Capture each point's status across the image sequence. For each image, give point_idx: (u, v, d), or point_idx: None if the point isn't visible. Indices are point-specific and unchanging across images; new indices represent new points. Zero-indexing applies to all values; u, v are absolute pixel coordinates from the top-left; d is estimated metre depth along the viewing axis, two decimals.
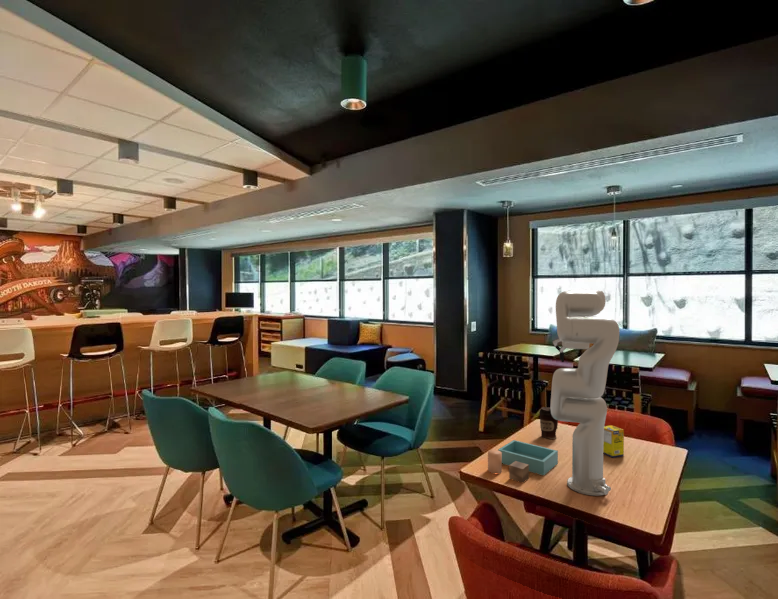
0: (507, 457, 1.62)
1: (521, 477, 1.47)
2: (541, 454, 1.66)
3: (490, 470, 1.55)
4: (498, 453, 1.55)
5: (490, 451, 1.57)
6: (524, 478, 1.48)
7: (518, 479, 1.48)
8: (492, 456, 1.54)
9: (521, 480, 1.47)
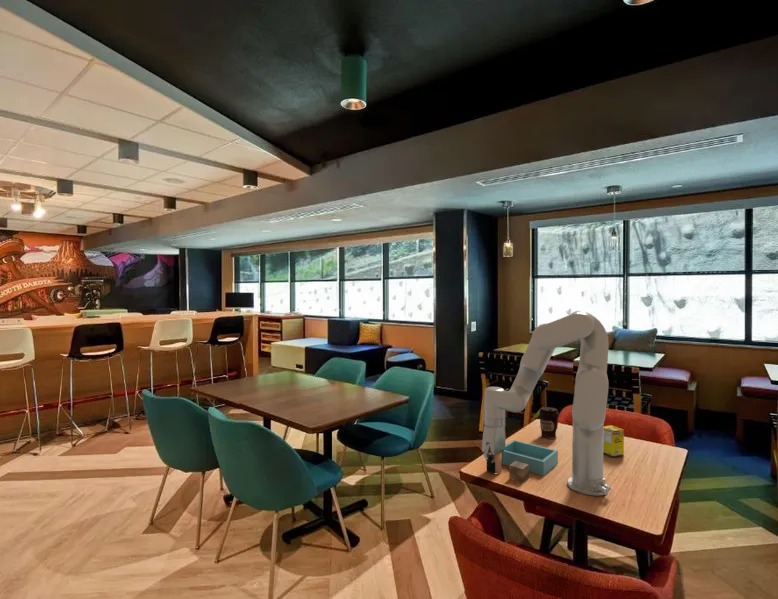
0: (507, 457, 1.62)
1: (521, 477, 1.47)
2: (541, 454, 1.66)
3: None
4: (498, 453, 1.55)
5: (490, 451, 1.57)
6: (524, 478, 1.48)
7: (518, 479, 1.48)
8: None
9: (521, 480, 1.47)
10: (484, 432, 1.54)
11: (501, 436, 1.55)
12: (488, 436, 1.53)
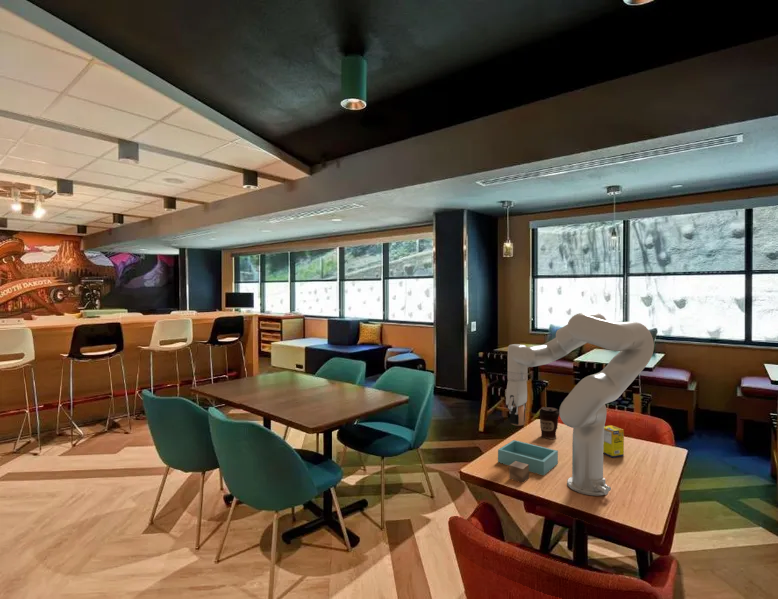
0: (507, 457, 1.62)
1: (521, 477, 1.47)
2: (541, 454, 1.66)
3: None
4: (520, 406, 1.65)
5: (513, 405, 1.67)
6: (524, 478, 1.48)
7: (518, 479, 1.48)
8: (515, 408, 1.64)
9: (521, 480, 1.47)
10: (508, 386, 1.63)
11: (524, 390, 1.64)
12: (512, 389, 1.62)
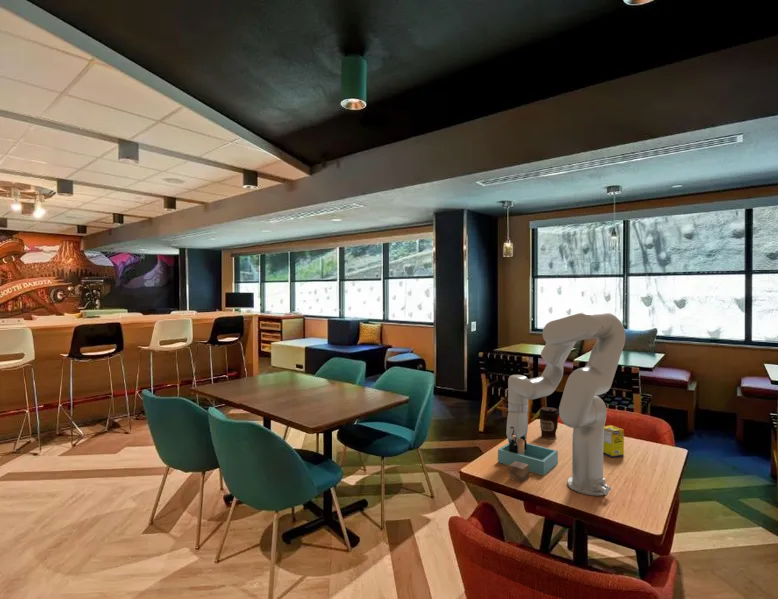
0: (507, 457, 1.62)
1: (521, 477, 1.47)
2: (541, 454, 1.66)
3: None
4: (521, 441, 1.65)
5: (513, 439, 1.67)
6: (524, 478, 1.48)
7: (518, 479, 1.48)
8: None
9: (521, 480, 1.47)
10: (508, 417, 1.64)
11: (524, 421, 1.65)
12: (512, 421, 1.62)
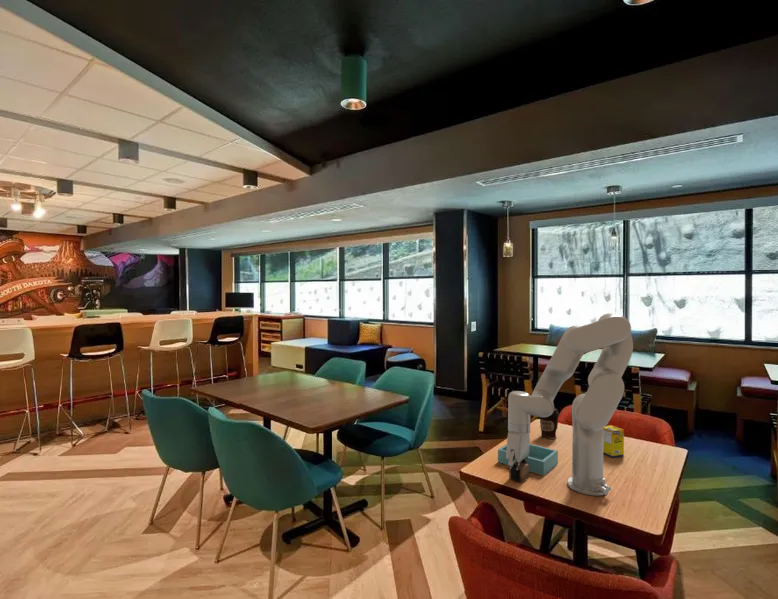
0: None
1: (521, 477, 1.47)
2: (541, 454, 1.66)
3: None
4: None
5: None
6: (524, 478, 1.48)
7: None
8: None
9: (521, 480, 1.47)
10: (508, 438, 1.48)
11: (526, 443, 1.49)
12: (513, 443, 1.46)
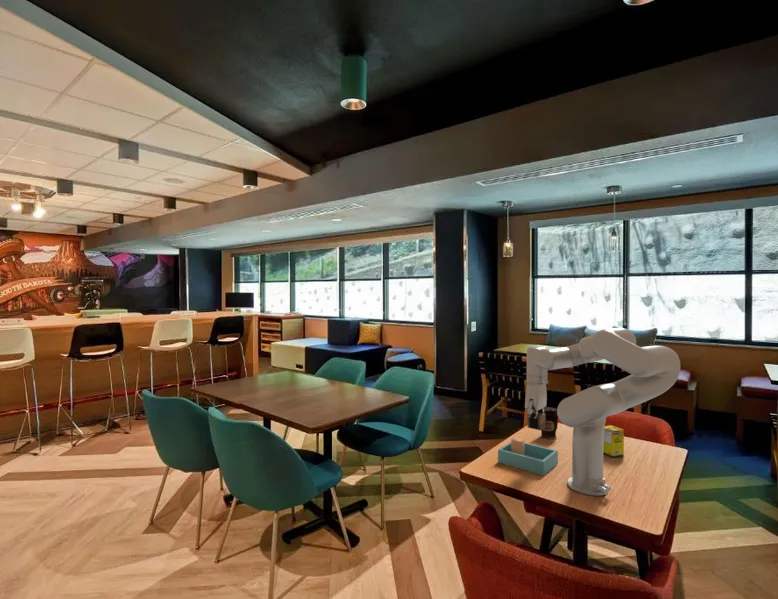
0: (507, 457, 1.62)
1: (539, 425, 1.58)
2: (541, 454, 1.66)
3: None
4: (521, 441, 1.65)
5: (513, 439, 1.67)
6: (541, 426, 1.59)
7: None
8: (515, 443, 1.64)
9: (539, 427, 1.58)
10: (527, 389, 1.58)
11: (543, 393, 1.60)
12: (531, 393, 1.57)
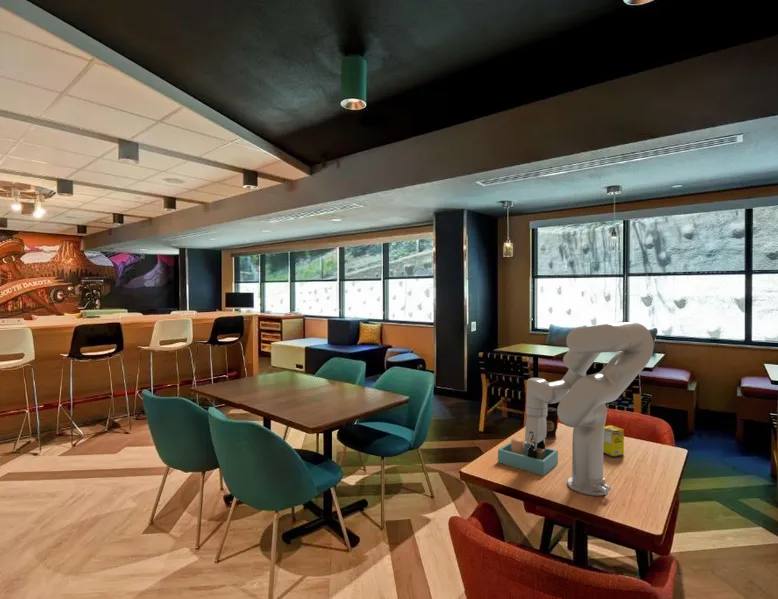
0: (507, 457, 1.62)
1: None
2: None
3: None
4: (521, 441, 1.65)
5: (513, 439, 1.67)
6: None
7: None
8: (515, 443, 1.64)
9: None
10: (527, 421, 1.59)
11: (543, 425, 1.60)
12: (531, 425, 1.57)
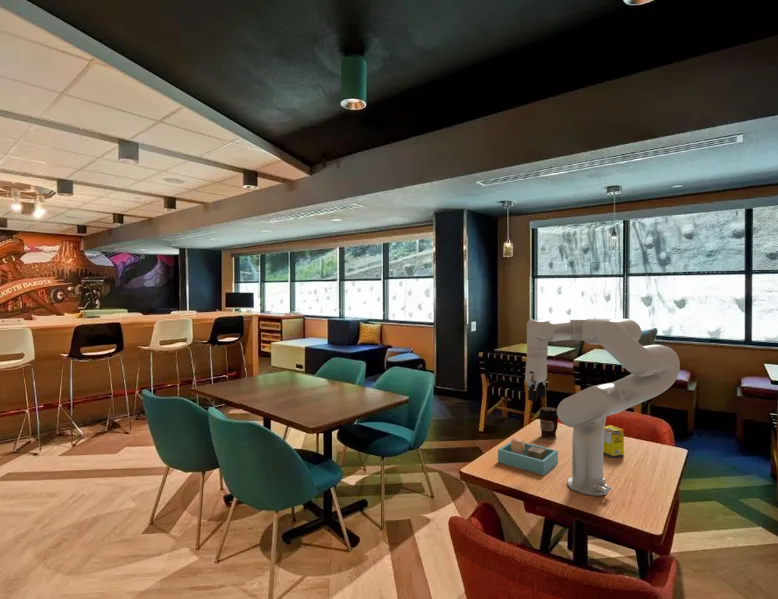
0: (507, 457, 1.62)
1: None
2: None
3: None
4: (521, 441, 1.65)
5: (513, 439, 1.67)
6: None
7: None
8: (515, 443, 1.64)
9: None
10: (527, 362, 1.58)
11: (544, 366, 1.59)
12: (532, 365, 1.57)
